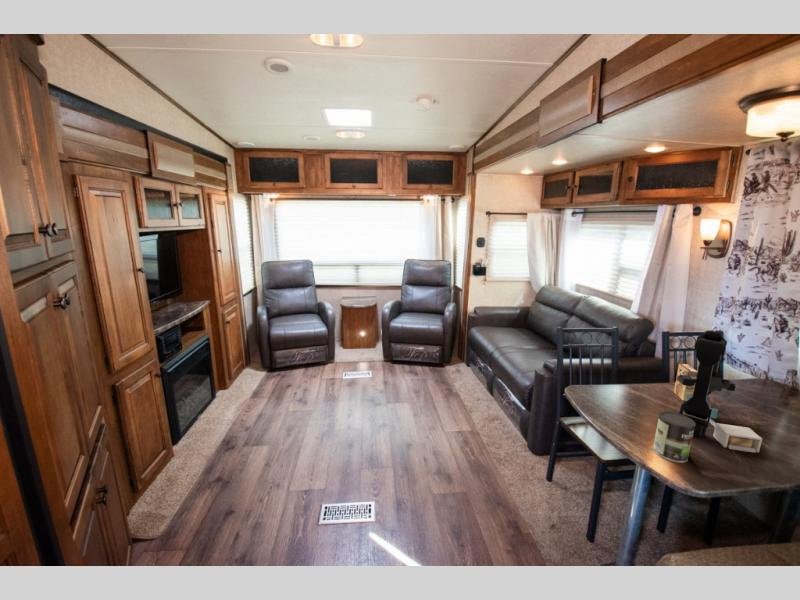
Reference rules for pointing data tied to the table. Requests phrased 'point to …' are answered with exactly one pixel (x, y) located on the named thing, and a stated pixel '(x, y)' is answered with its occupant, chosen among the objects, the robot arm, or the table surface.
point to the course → (736, 434)
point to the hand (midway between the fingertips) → (701, 400)
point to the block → (740, 441)
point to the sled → (714, 415)
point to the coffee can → (673, 436)
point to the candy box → (682, 389)
